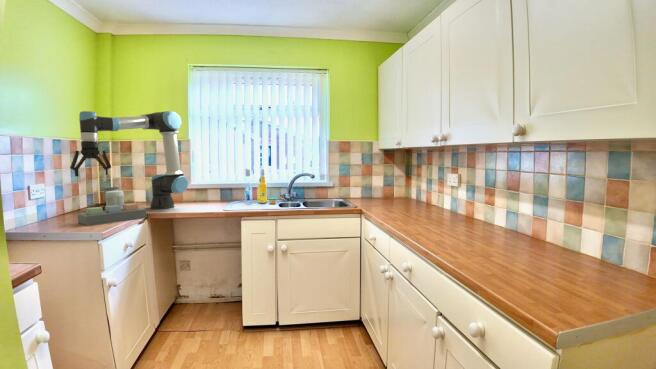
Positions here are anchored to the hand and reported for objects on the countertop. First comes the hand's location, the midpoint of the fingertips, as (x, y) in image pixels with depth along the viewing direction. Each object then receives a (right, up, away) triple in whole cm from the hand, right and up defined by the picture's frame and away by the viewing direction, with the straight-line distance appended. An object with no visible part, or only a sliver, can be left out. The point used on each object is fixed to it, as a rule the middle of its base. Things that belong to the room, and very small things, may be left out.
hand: (92, 182), depth 188 cm
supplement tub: (-2, -20, +25) cm, 32 cm away
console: (+6, -21, +9) cm, 24 cm away
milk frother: (-22, -18, +48) cm, 56 cm away
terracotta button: (+12, -17, +15) cm, 26 cm away
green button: (0, -18, +2) cm, 18 cm away
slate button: (+6, -17, +8) cm, 20 cm away
